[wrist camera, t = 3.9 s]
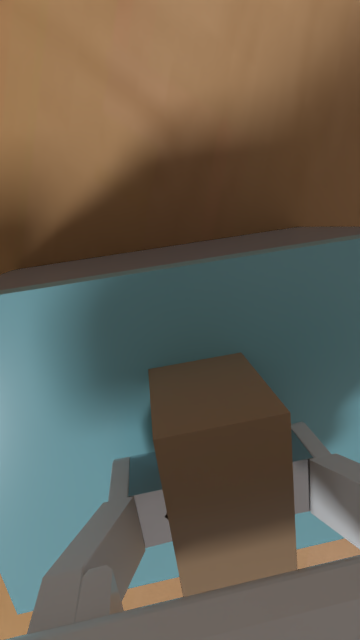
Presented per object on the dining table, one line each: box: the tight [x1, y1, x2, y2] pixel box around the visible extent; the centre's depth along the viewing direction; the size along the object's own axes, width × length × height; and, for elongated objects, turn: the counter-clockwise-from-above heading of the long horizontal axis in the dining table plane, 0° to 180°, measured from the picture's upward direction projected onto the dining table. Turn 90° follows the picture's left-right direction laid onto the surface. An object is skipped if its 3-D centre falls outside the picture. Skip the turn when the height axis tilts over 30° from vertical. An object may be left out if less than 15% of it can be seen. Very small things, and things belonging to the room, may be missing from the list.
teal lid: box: [0, 234, 360, 614], centre depth 10 cm, size 12×16×6 cm
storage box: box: [0, 227, 360, 290], centre depth 16 cm, size 12×16×8 cm
